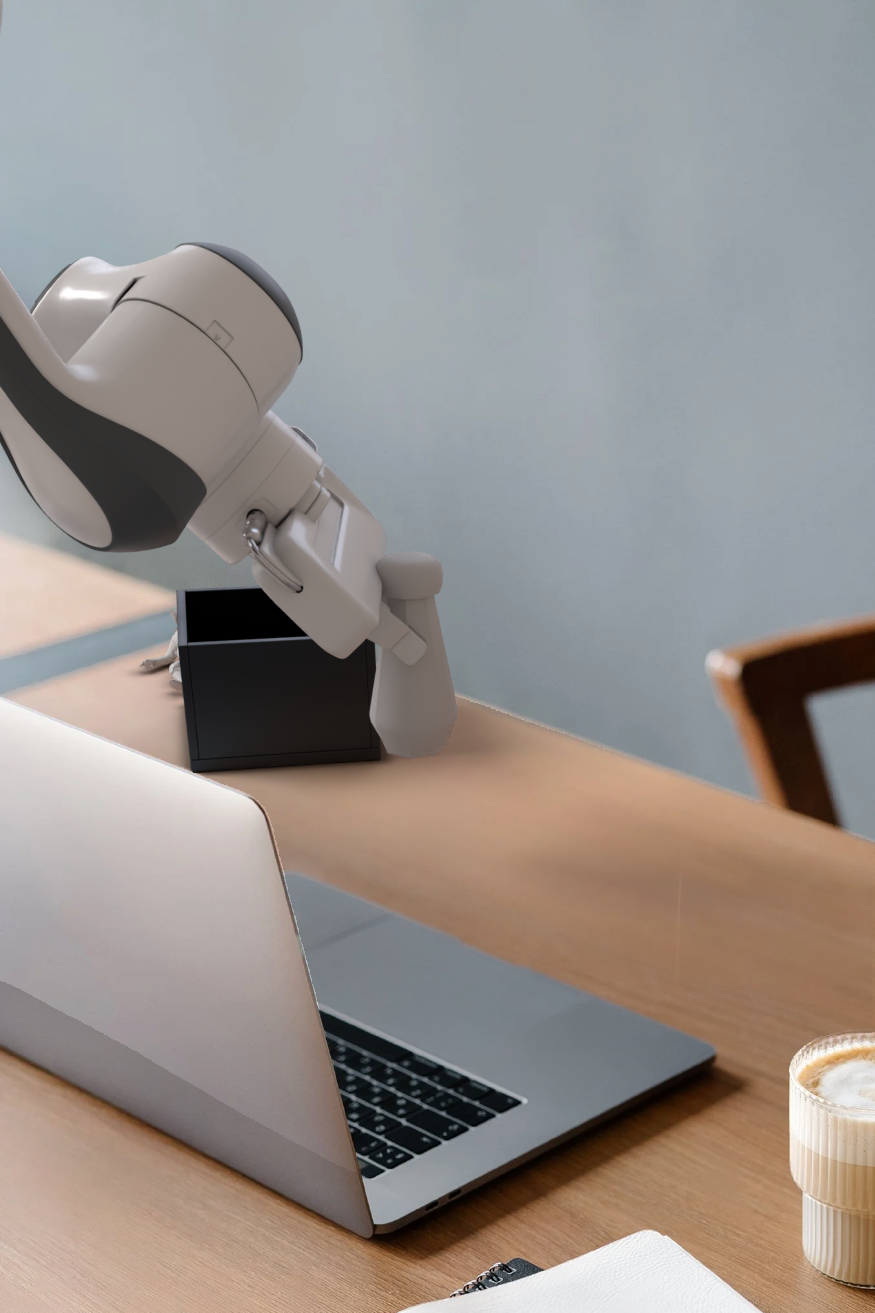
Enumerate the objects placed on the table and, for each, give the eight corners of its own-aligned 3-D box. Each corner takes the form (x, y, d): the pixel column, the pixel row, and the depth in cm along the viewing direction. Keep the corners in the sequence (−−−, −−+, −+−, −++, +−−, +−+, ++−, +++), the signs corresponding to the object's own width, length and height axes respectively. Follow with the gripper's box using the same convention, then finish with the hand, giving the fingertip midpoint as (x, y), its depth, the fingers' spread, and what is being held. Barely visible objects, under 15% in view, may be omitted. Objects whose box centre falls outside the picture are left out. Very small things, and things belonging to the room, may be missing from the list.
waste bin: (191, 772, 137) (177, 645, 132) (188, 707, 149) (176, 589, 145) (381, 759, 140) (374, 635, 135) (363, 696, 152) (356, 580, 148)
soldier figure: (145, 707, 152) (121, 624, 159) (189, 734, 155) (163, 651, 163) (207, 646, 150) (180, 565, 157) (250, 675, 153) (222, 594, 161)
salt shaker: (379, 728, 123) (370, 541, 117) (462, 731, 123) (458, 544, 117) (365, 761, 118) (355, 567, 112) (452, 764, 118) (447, 570, 112)
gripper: (277, 501, 102) (455, 665, 108) (301, 421, 120) (453, 565, 125) (204, 579, 104) (383, 736, 109) (238, 488, 121) (391, 627, 127)
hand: (420, 644), depth 117 cm, fingers closed on salt shaker, 3 cm apart
